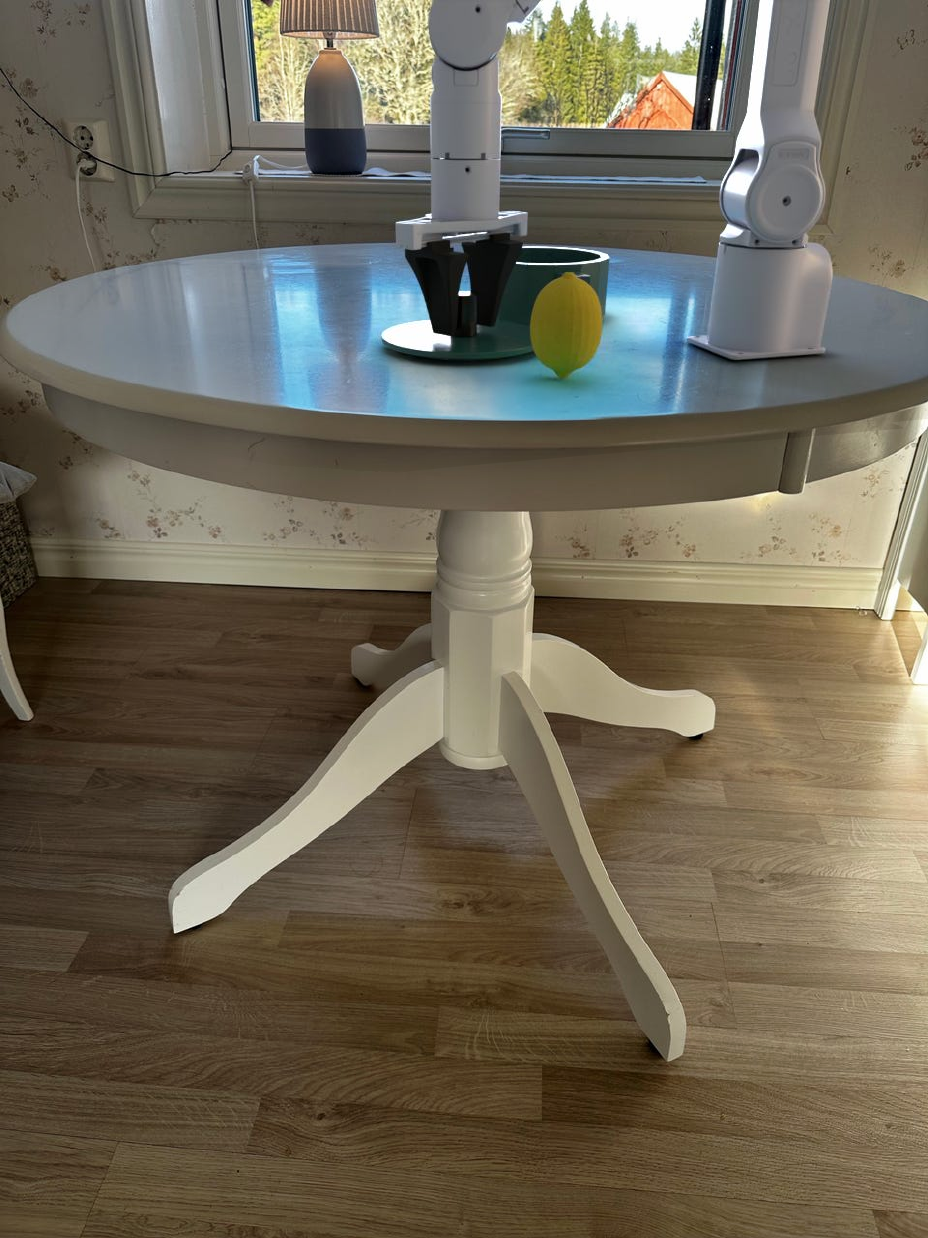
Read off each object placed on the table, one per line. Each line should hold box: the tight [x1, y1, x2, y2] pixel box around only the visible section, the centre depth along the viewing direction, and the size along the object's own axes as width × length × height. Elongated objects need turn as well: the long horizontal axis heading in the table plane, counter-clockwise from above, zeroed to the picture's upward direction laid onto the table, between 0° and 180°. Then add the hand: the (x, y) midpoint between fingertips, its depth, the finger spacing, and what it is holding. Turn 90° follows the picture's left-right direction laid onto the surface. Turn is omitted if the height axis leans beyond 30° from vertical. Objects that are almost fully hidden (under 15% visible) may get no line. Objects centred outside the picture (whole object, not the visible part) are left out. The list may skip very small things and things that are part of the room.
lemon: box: [530, 272, 603, 380], centre depth 71 cm, size 6×6×8 cm
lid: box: [381, 290, 534, 362], centre depth 81 cm, size 15×15×5 cm
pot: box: [496, 246, 610, 326], centre depth 94 cm, size 14×19×6 cm
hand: (464, 329), depth 82 cm, fingers open, 5 cm apart
